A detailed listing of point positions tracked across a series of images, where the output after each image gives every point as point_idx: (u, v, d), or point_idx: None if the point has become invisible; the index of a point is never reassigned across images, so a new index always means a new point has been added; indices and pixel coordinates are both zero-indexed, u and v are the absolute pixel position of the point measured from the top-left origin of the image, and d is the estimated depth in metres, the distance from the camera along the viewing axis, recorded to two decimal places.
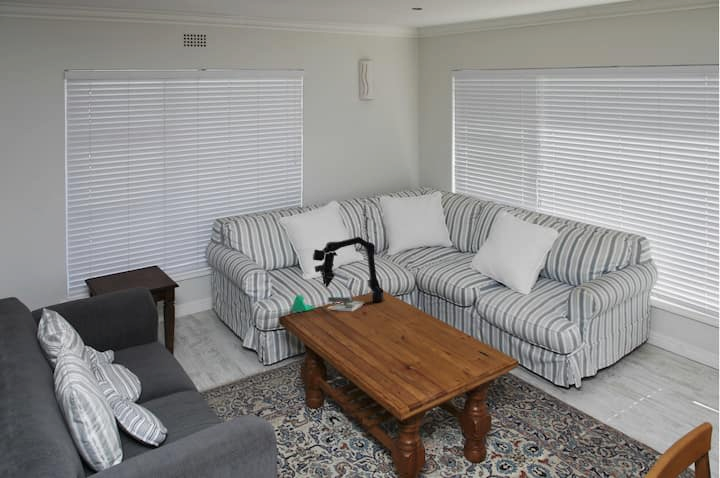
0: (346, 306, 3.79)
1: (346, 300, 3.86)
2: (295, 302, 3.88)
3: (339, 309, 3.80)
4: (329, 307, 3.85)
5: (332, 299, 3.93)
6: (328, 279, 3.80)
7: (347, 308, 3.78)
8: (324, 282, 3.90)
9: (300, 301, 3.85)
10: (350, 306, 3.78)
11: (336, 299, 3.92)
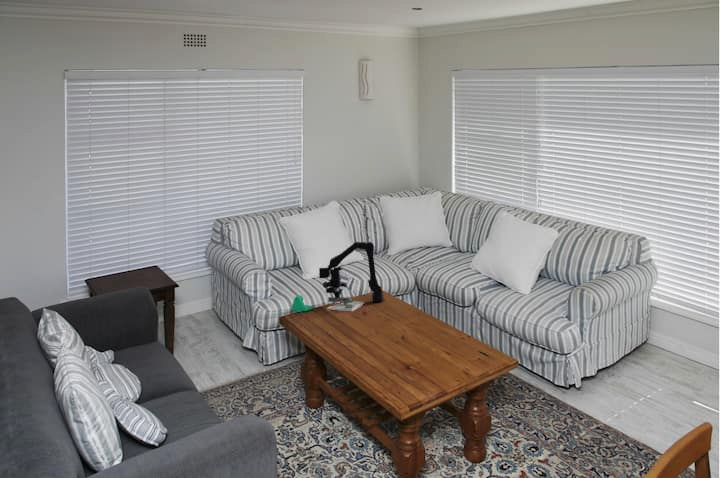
0: (346, 306, 3.79)
1: (346, 300, 3.86)
2: (294, 302, 3.88)
3: (339, 309, 3.80)
4: (329, 307, 3.85)
5: (332, 299, 3.93)
6: (336, 293, 3.93)
7: (347, 308, 3.78)
8: None
9: (299, 301, 3.85)
10: (350, 306, 3.78)
11: (336, 299, 3.92)
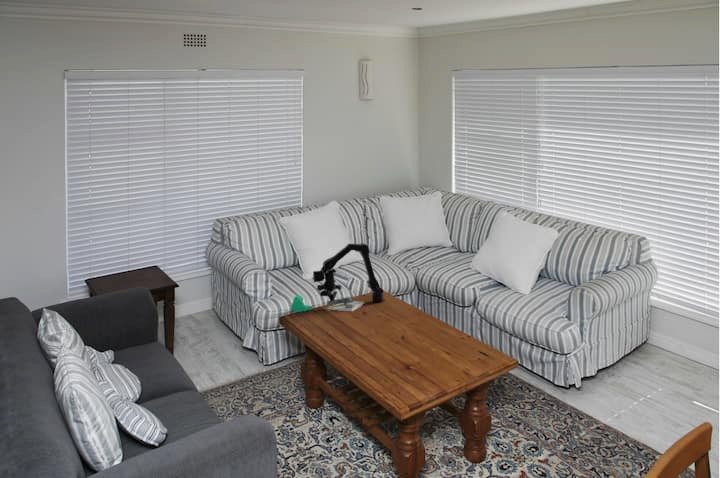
0: (346, 306, 3.79)
1: (349, 300, 3.86)
2: (294, 302, 3.87)
3: (339, 309, 3.80)
4: (329, 307, 3.85)
5: (332, 303, 3.84)
6: (331, 296, 3.86)
7: (347, 308, 3.78)
8: None
9: (299, 301, 3.85)
10: (350, 306, 3.78)
11: (336, 301, 3.85)
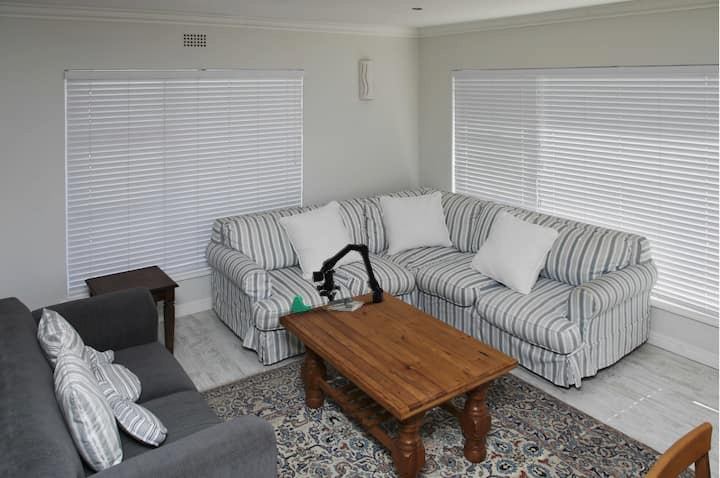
0: (346, 306, 3.79)
1: (349, 300, 3.86)
2: (294, 302, 3.87)
3: (339, 309, 3.80)
4: (329, 307, 3.85)
5: (333, 303, 3.84)
6: (330, 296, 3.85)
7: (347, 308, 3.78)
8: None
9: (298, 301, 3.84)
10: (350, 306, 3.78)
11: (337, 301, 3.85)
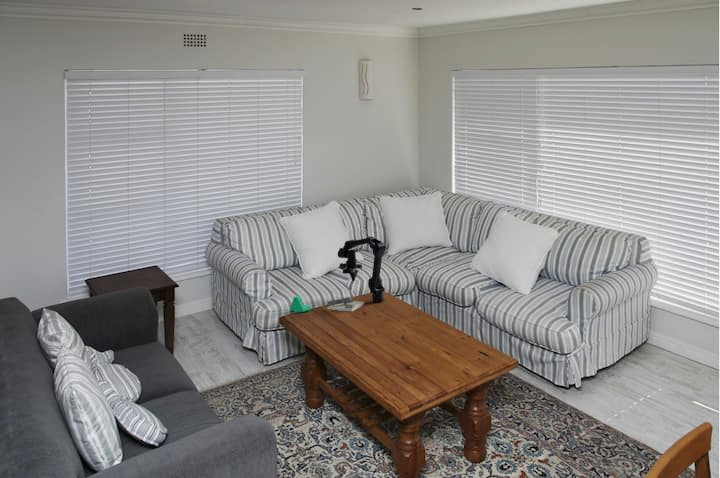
0: (346, 306, 3.79)
1: (349, 300, 3.86)
2: (293, 303, 3.87)
3: (339, 309, 3.80)
4: (329, 307, 3.85)
5: (333, 303, 3.84)
6: (352, 274, 4.06)
7: (347, 308, 3.78)
8: None
9: (298, 302, 3.84)
10: (350, 306, 3.78)
11: (337, 301, 3.85)
